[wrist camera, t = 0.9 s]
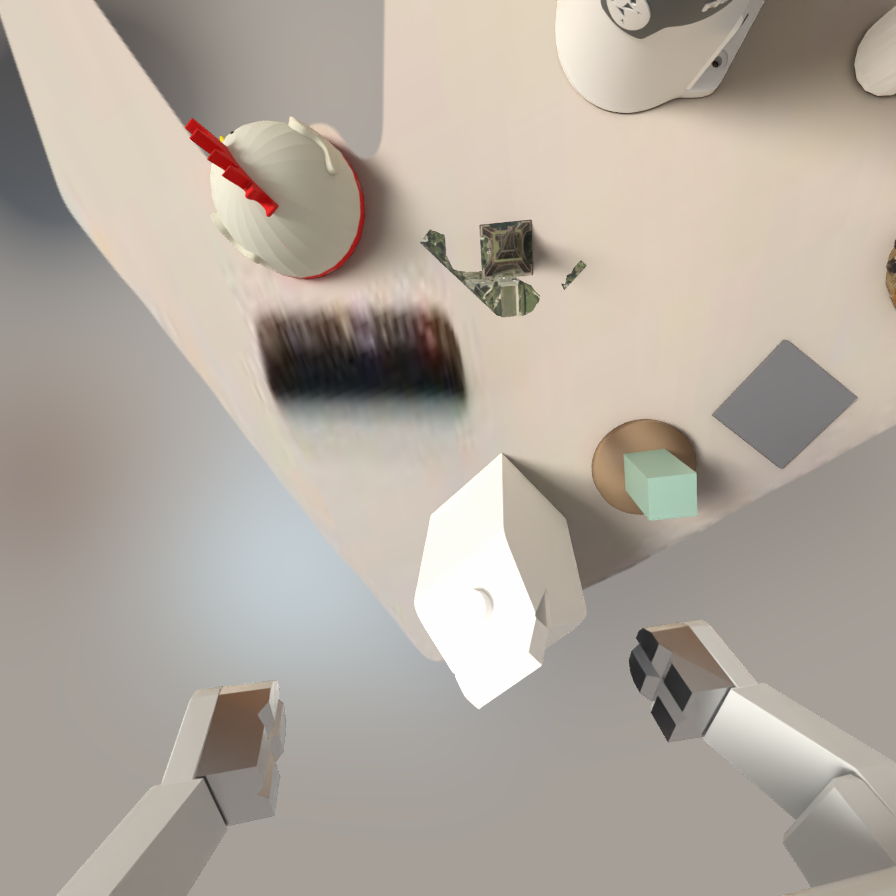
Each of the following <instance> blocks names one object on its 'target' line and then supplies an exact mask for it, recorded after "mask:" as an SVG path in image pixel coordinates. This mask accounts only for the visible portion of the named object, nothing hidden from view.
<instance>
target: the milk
mask: <svg viewBox="0 0 896 896" xmlns="http://www.w3.org/2000/svg"><path fill="white" fill-rule="evenodd" d="M414 605H415V609H416V612H417V614H418V616H419V618H420V620H421V622H422V624H423V625H424V627H425V629H426V630H427V632H428V633H429V635H430V637H431V638H432V640H433V642H434V643H435V645H436V646H437V648H438V650H439V651H440V653H441V654H442V656H443V658H444V659H445V661H446V662H447V664H448V666H449V667H450V669H451V671H452V672H453V673H455V674H456V675H455V677H456V680H457V682H458V684H459V686H460V688H461V690H462V692H463V694H464V696H465V697H466V698H467V699H468V700H469V701H470V702H471V703H472V704H473V705H474V706H476V707H477V708H478V709H479V708H481V707H482V706H484V705H485V704H486V703H488V702H489V701H491V700H492V699H494V698H495V697H497V696H498V695H500V694H501V693H503V692H504V691H505V690H507V689H508V688H510V687H511V686H513V685H514V684H516V683H517V682H518V681H520V680H521V679H523V678H524V677H526V676H527V675H529V674H530V673H531V672H533V671H535V670H536V669H537V668H539V667H540V666H542V663H543V658H544V652H545V649H546V648H548V647H549V646H551V645H552V644H554V643H555V642H556V641H558V640H559V639H561V638H562V637H563V636H565V635H566V634H568V633H569V632H571V631H572V630H574V629H575V628H576V627H577V626H578V625H579V624H580V623H581V622H582V621H583V620H584V618H585V617H586V615H587V608H586V604H585V599H584V595H583V591H582V586H581V582H580V578H579V573H578V569H577V565H576V560H575V556H574V552H573V547H572V543H571V539H570V534H569V530H568V526H567V521H566V518H565V517H564V516H563V515H562V514H561V513H560V512H559V511H558V510H557V509H556V508H555V507H554V506H553V505H552V504H551V503H550V502H549V501H548V500H547V499H546V498H545V497H544V496H543V495H542V494H541V493H540V492H539V491H538V490H537V489H536V488H535V487H534V485H533V484H532V483H531V482H530V481H529V480H528V479H527V478H526V477H525V476H524V475H523V474H522V473H521V472H520V471H519V470H518V469H517V468H516V467H515V466H514V465H513V464H512V463H511V462H510V461H509V460H508V459H507V458H506V457H505V456H504V455H503V454H502V453H501V454H500V455H499V456H498V457H496V458H495V459H494V460H493V461H492V462H491V463H490V464H489V465H487V466H486V467H485V468H484V469H483V470H482V471H481V472H479V473H478V474H477V475H476V476H475V477H474V478H473V479H471V480H470V481H469V482H468V483H467V484H466V485H465V486H463V487H462V488H461V489H460V490H459V491H458V492H457V493H456V494H454V495H453V496H452V497H451V498H450V499H449V500H448V501H446V502H445V503H444V504H443V505H442V506H441V507H440V508H438V509H437V510H436V511H435V512H434V513H433V514H432V515H431V517H430V523H429V528H428V533H427V538H426V543H425V548H424V553H423V558H422V563H421V568H420V574H419V579H418V584H417V589H416V594H415V601H414Z"/></svg>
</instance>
